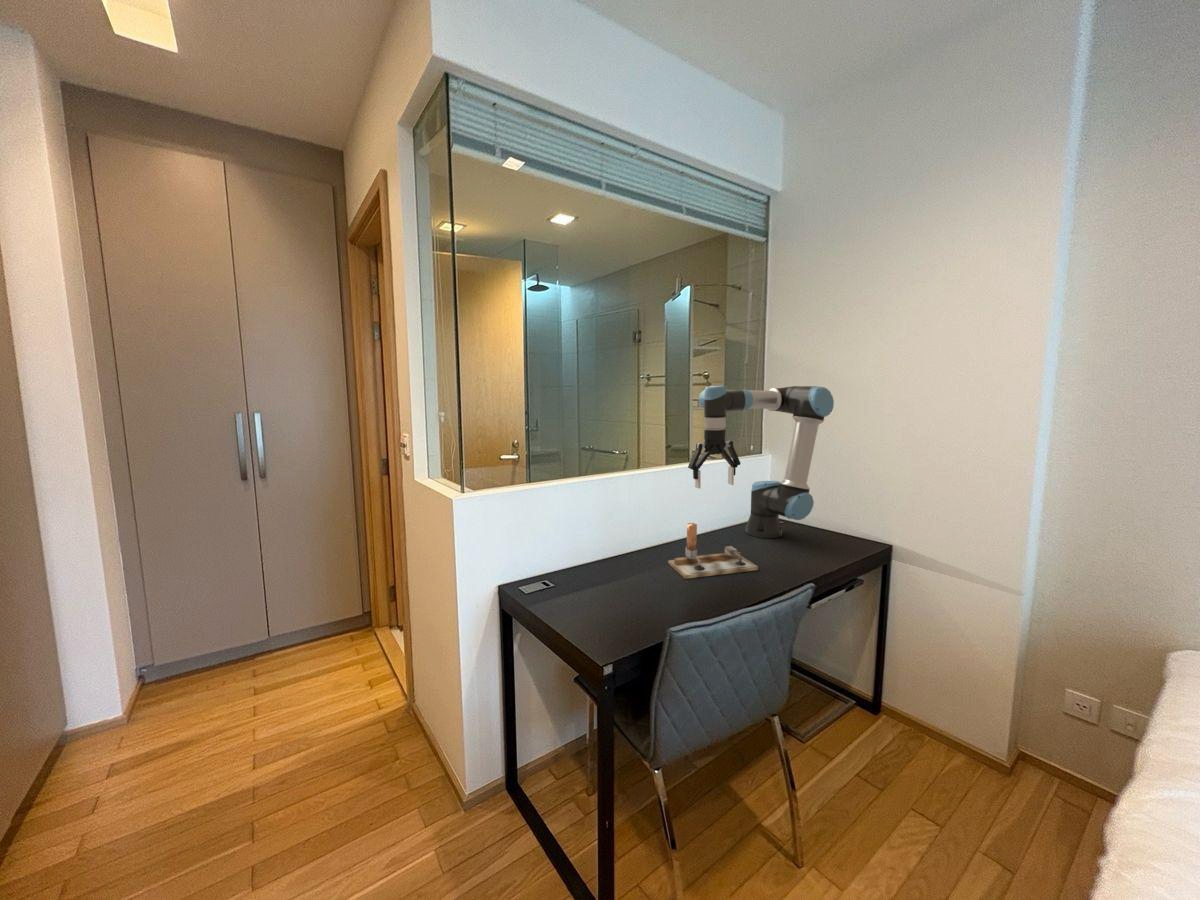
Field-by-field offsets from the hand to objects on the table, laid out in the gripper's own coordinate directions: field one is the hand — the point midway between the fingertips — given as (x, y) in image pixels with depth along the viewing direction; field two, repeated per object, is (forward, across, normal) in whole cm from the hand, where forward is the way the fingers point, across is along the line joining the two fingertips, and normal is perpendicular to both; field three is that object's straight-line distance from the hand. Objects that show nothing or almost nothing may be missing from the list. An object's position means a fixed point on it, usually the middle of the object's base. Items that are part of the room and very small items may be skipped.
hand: (714, 486), depth 176 cm
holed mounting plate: (+27, +6, +9) cm, 29 cm away
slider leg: (+25, +12, +8) cm, 29 cm away
